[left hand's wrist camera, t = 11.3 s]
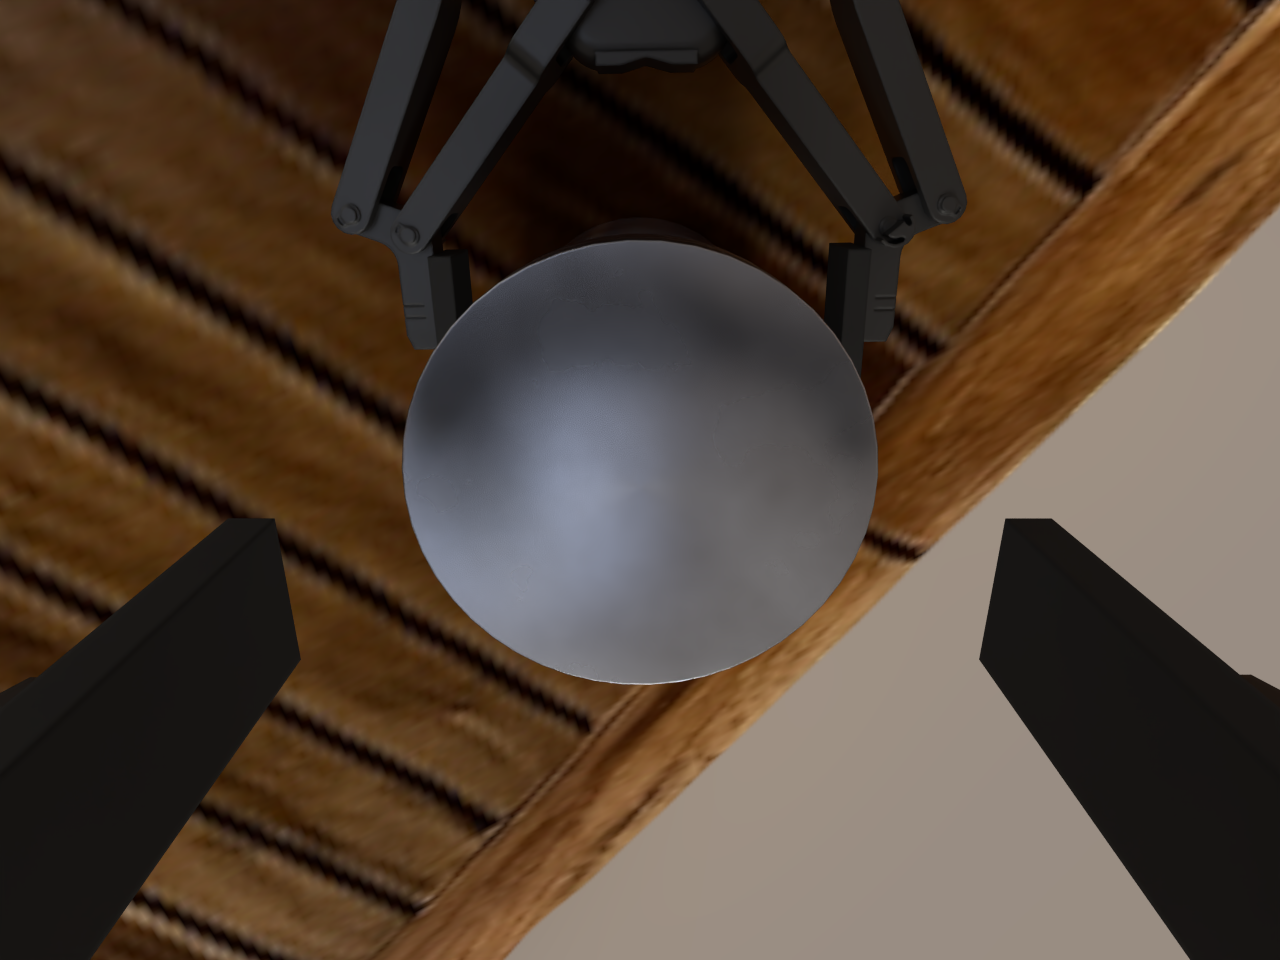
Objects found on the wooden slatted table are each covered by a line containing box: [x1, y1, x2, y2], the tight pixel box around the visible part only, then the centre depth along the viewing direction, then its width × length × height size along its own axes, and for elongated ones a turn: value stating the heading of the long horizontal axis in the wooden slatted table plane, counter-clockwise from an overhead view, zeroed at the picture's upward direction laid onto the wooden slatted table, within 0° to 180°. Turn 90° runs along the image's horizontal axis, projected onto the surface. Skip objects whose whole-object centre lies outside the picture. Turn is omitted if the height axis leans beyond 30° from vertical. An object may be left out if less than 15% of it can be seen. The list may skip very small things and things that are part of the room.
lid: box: [402, 233, 878, 685], centre depth 18 cm, size 11×11×2 cm
